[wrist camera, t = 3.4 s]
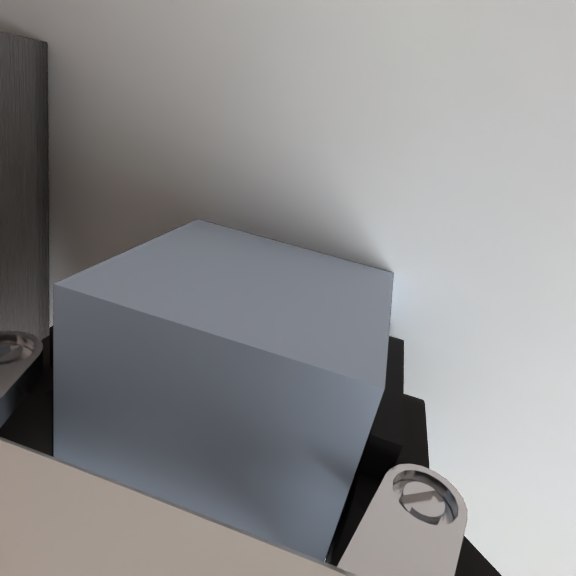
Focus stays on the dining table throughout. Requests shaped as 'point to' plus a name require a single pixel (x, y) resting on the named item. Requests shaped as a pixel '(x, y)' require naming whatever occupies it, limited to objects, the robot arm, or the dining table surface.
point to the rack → (24, 186)
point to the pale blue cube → (224, 376)
